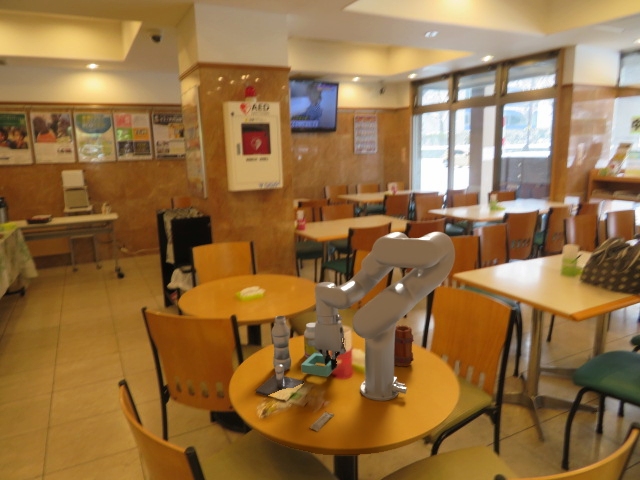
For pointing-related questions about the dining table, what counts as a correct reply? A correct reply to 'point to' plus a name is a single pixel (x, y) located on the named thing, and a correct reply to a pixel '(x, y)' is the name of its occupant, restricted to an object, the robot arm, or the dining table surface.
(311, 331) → the supplement bottle
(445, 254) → the robot arm
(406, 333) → the mug
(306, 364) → the teal square frame
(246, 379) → the dining table surface
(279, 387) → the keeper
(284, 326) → the plastic bottle
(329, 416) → the snack bar
